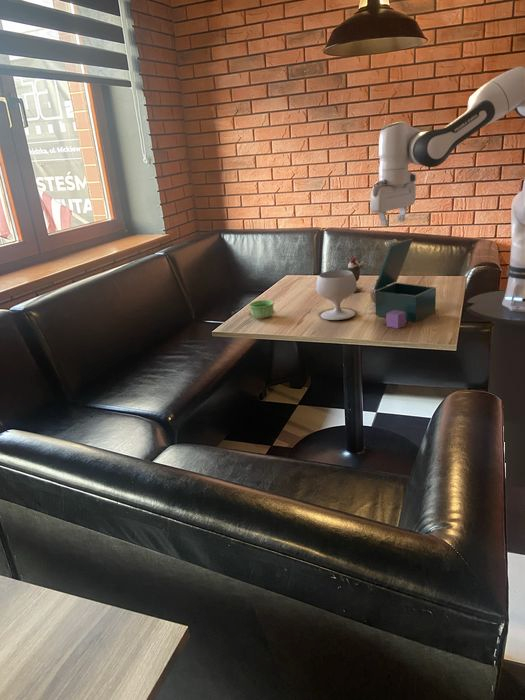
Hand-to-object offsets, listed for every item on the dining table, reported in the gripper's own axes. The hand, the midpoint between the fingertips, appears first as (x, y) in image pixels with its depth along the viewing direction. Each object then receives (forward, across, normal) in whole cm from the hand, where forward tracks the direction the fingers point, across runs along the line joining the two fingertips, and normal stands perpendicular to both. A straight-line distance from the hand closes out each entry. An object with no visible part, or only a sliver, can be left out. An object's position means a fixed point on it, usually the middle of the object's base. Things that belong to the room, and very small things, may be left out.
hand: (393, 223), depth 172 cm
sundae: (+32, +21, +32) cm, 50 cm away
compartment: (+31, +4, -2) cm, 32 cm away
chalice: (+32, -9, +17) cm, 37 cm away
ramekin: (+32, -22, +42) cm, 57 cm away
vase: (+32, +11, +13) cm, 36 cm away
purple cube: (+31, -8, -6) cm, 33 cm away
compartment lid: (+15, +4, +2) cm, 15 cm away
